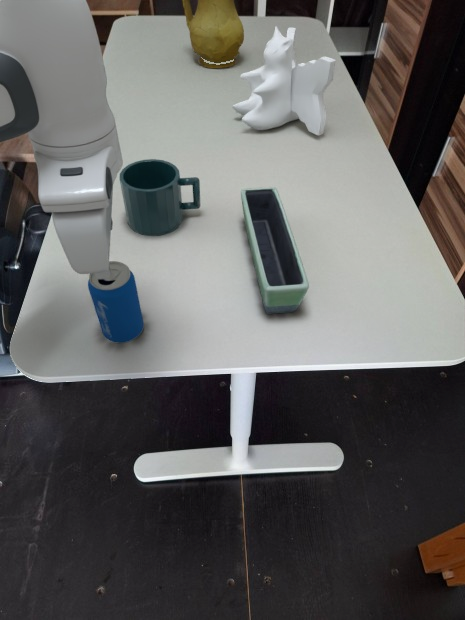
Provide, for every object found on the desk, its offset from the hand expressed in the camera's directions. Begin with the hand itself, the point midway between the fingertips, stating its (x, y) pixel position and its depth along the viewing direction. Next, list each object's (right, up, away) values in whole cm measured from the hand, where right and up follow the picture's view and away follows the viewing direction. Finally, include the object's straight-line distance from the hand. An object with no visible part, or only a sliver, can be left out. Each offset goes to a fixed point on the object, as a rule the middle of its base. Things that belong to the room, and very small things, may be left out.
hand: (105, 250), depth 58 cm
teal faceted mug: (+3, +11, +32) cm, 34 cm away
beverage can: (0, -11, +12) cm, 17 cm away
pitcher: (+11, +75, +90) cm, 118 cm away
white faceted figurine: (+28, +42, +61) cm, 80 cm away
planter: (+23, +1, +23) cm, 33 cm away
